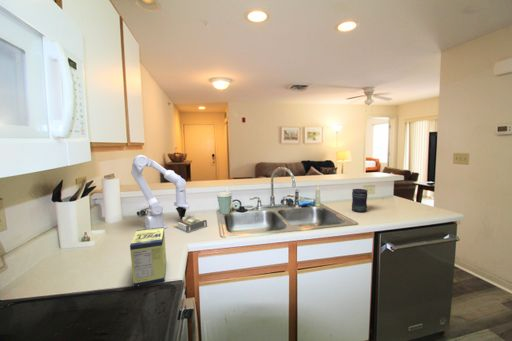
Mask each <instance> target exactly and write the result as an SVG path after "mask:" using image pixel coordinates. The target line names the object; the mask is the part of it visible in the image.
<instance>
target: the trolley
mask: <svg viewBox="0 0 512 341" xmlns="http://www.w3.org/2000/svg"><path fill="white" fill-rule="evenodd" d="M181 220H182V223H183V224H185V225H190V224H193V223H197V222H200V220H201V219H200V218H198V217H194V214H190V215H185V217H183V218H182V219H181Z"/></svg>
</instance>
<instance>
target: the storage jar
mask: <svg viewBox="0 0 512 341" xmlns="http://www.w3.org/2000/svg"><path fill="white" fill-rule="evenodd" d="M351 192H352V194H351V198H352V202H351V211H352V212H353V213H358V214H365V213H367V209H368V204H367V202H368V201H367V200H368V189H365V188H364V189H363V188H352V191H351Z"/></svg>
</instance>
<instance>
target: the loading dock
mask: <svg viewBox="0 0 512 341" xmlns="http://www.w3.org/2000/svg"><path fill="white" fill-rule="evenodd" d="M207 224H208V221H207V219H203V220H201V219H200V222H197V223H193V224H190V225H185V224H183V222H178V221H177V224H175V225H172V227H173V228H176V229H178V230H180V231H182V232H184V233H186V234H190V233H192V232H196V231H199V230H201V229H203V228H204V229H205V228H207V227H208V225H207Z"/></svg>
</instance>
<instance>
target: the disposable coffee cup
mask: <svg viewBox="0 0 512 341" xmlns="http://www.w3.org/2000/svg"><path fill="white" fill-rule="evenodd" d="M216 197H217V202H218V208H219V214H221V215H228V214H230V212H231V205H232V197H233V194H232V192H231V191H229V190H228V191H220V192H217V194H216Z"/></svg>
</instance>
